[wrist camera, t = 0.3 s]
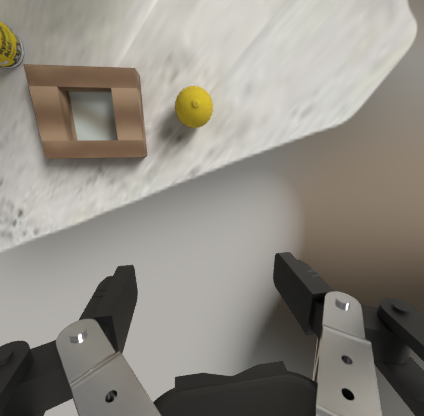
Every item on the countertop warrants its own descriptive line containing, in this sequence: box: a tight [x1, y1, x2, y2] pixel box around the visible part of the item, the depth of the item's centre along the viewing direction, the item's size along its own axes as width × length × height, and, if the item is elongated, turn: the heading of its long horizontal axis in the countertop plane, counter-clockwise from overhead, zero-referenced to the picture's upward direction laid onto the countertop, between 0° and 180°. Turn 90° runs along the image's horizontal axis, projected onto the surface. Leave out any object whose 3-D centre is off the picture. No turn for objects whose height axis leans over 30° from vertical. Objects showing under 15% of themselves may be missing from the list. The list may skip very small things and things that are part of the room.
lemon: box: [175, 86, 213, 128], centre depth 32 cm, size 6×6×8 cm
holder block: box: [24, 64, 147, 159], centre depth 32 cm, size 12×14×4 cm
